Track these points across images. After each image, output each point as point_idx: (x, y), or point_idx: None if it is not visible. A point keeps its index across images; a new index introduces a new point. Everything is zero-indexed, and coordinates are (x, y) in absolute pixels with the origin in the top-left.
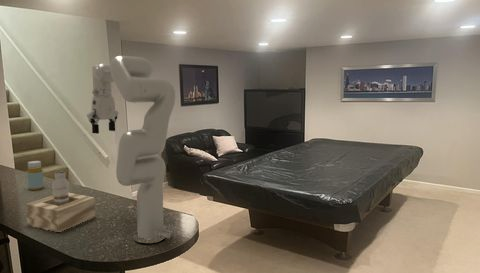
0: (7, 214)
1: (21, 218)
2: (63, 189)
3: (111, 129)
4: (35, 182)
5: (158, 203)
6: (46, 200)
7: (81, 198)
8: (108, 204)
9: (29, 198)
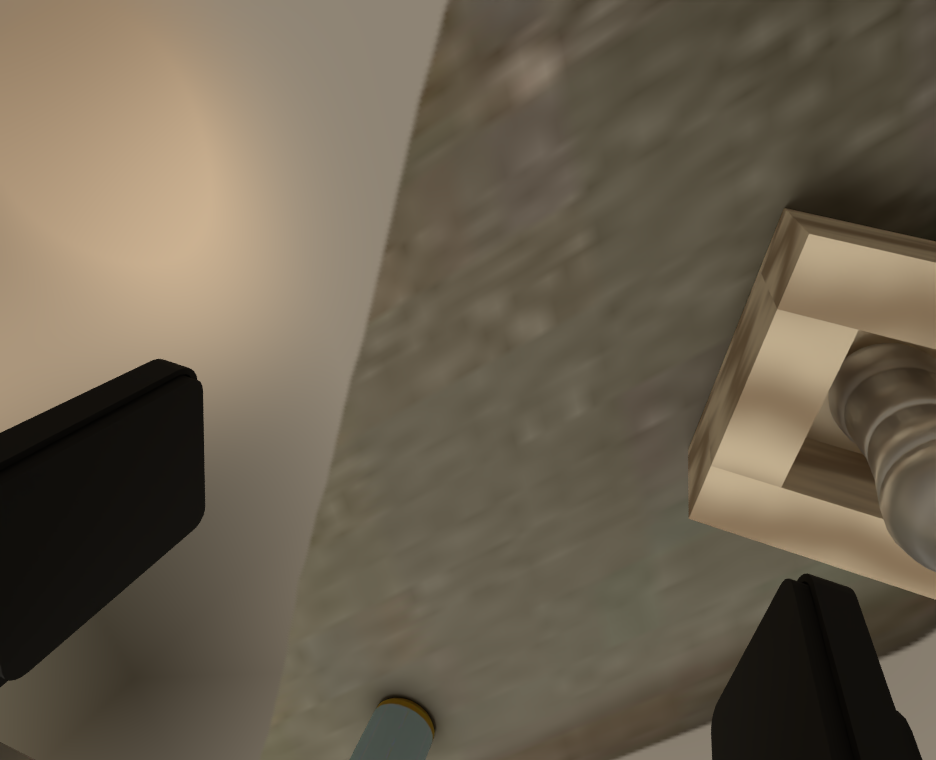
0: None
1: None
2: None
3: (181, 463)
4: (413, 746)
5: None
6: None
7: (847, 322)
8: (528, 255)
9: (538, 690)
